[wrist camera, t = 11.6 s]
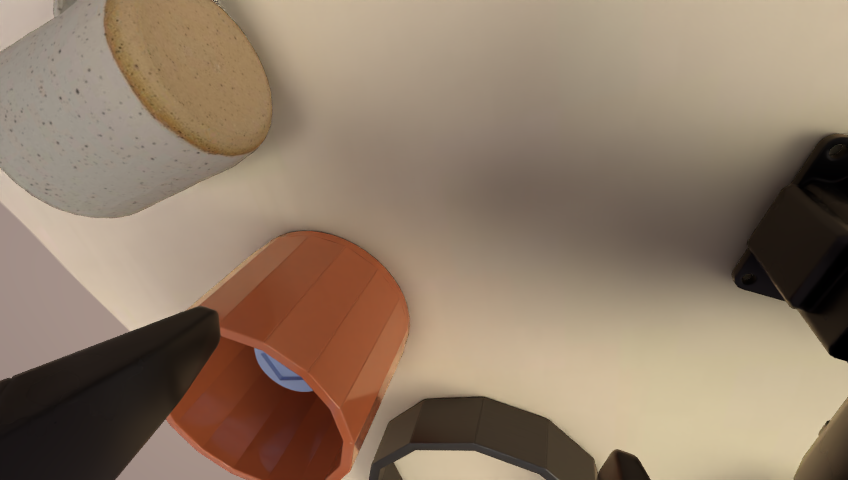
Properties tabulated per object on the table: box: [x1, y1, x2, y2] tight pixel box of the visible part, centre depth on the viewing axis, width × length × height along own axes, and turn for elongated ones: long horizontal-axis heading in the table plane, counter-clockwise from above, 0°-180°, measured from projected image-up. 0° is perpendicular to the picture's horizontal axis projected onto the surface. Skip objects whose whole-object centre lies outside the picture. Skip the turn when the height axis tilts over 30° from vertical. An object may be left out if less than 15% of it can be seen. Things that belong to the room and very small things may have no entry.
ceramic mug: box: [0, 0, 272, 218], centre depth 17 cm, size 11×8×8 cm
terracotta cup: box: [166, 231, 410, 480], centre depth 23 cm, size 10×10×8 cm
